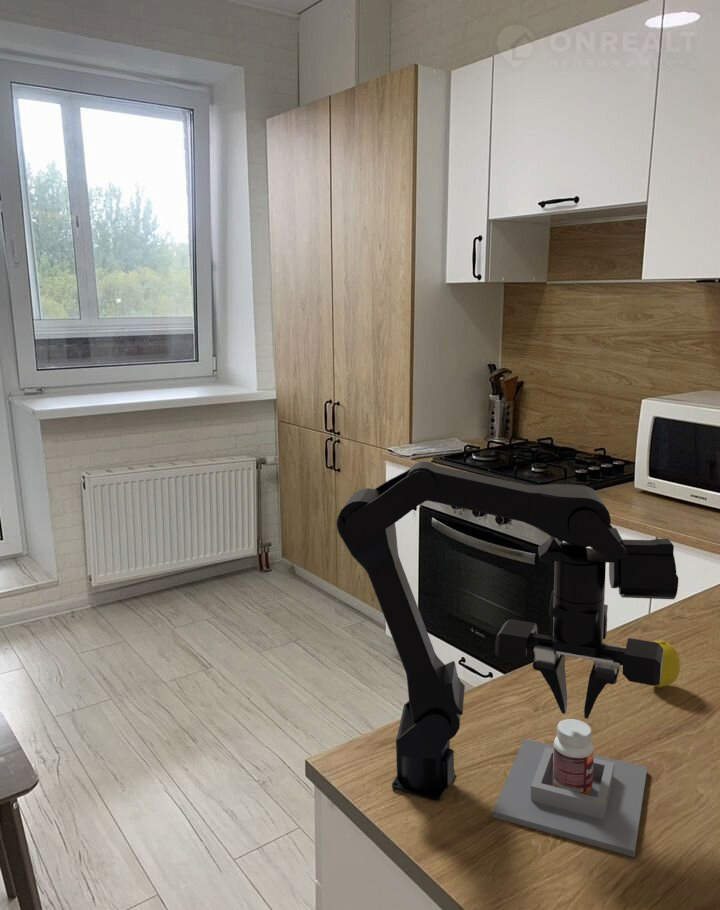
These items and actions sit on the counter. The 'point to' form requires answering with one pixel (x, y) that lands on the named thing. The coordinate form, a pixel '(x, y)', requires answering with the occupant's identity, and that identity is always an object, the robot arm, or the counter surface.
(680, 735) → the counter surface
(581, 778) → the pill bottle
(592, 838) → the bottle stand
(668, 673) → the lemon
